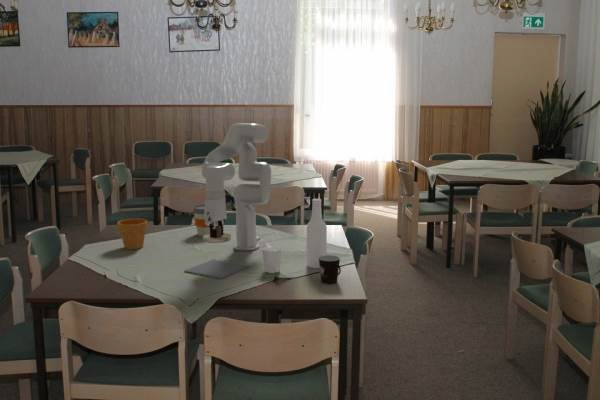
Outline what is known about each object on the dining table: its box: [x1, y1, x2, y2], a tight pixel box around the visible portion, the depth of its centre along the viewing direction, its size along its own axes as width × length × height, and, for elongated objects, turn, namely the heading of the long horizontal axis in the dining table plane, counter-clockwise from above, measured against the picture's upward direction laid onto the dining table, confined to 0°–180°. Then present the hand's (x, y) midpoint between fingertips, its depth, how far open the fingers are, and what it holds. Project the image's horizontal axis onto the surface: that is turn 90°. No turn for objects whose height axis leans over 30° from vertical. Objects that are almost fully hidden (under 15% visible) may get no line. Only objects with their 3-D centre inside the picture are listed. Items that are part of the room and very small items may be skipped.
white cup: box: [262, 245, 282, 274], centre depth 267 cm, size 8×8×10 cm
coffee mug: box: [319, 254, 342, 285], centre depth 251 cm, size 12×9×10 cm
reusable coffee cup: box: [192, 204, 213, 237], centre depth 332 cm, size 13×13×15 cm
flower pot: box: [116, 218, 148, 250], centre depth 307 cm, size 14×14×13 cm
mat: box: [183, 259, 250, 280], centre depth 271 cm, size 20×20×1 cm
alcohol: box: [306, 198, 328, 270], centre depth 272 cm, size 9×9×30 cm
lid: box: [202, 225, 232, 244], centre depth 268 cm, size 12×12×6 cm
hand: (216, 235), depth 268 cm, fingers closed on lid, 4 cm apart
